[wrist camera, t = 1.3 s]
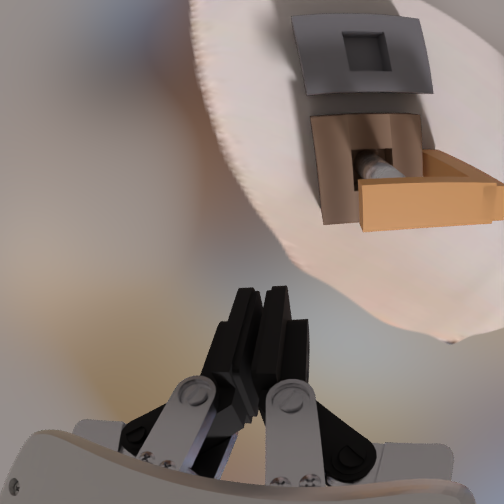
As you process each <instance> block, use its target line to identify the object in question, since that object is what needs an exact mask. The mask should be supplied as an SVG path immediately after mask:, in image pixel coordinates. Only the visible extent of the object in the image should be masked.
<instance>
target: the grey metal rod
mask: <svg viewBox="0 0 504 504" xmlns="http://www.w3.org/2000/svg"><path fill="white" fill-rule="evenodd" d="M354 167H355V170H356V171H357V173H358V174H359V175H360V176H361V178H362V179H375V178H398V177H405V176H404V175H403V174H402V173H401V172H399V171H398V170H397V169H395V168H394V167H393V166H392V165H390V164H389V163H387V162H386V161H385V160H383V159H382V158H381V157H379V156H378V155H376V154H375V153H374V152H372V151H362V152H360V153H359V154H358V155H357V156H356V158H355V160H354Z"/></svg>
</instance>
